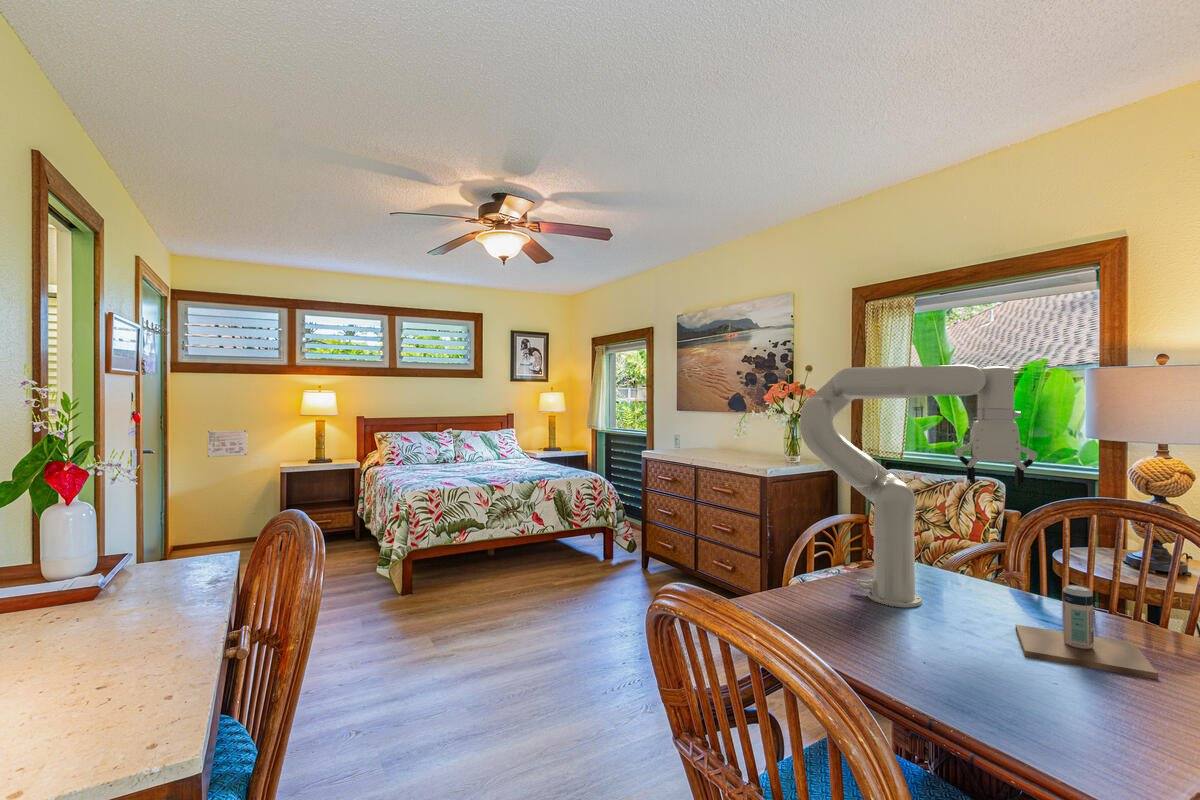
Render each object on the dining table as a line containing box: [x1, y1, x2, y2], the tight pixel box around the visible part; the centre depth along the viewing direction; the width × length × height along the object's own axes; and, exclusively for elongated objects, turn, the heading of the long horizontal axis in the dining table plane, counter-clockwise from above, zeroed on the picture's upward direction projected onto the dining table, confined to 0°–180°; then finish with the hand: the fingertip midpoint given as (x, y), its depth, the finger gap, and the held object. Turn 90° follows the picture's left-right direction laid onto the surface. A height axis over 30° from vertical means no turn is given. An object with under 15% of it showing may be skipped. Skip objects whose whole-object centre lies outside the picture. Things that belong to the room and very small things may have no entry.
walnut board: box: [1015, 624, 1159, 680], centre depth 119 cm, size 20×16×1 cm
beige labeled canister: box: [1062, 584, 1095, 650], centre depth 119 cm, size 5×5×12 cm
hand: (994, 484), depth 144 cm, fingers open, 9 cm apart
